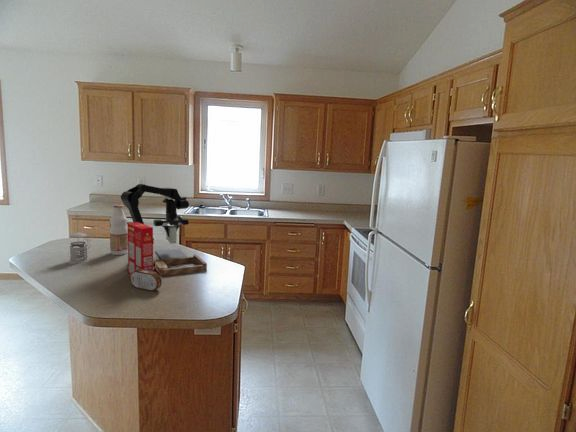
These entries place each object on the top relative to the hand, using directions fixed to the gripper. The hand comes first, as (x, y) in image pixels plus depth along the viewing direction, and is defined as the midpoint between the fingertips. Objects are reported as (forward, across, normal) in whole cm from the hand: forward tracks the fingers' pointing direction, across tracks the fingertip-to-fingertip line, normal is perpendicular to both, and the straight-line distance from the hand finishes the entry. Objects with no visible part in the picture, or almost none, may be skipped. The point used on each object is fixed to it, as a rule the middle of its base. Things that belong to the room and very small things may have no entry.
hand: (171, 236), depth 217 cm
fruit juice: (+11, -26, +14) cm, 32 cm away
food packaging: (+11, -22, -31) cm, 40 cm away
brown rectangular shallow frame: (+11, -2, -26) cm, 28 cm away
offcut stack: (+11, -11, -26) cm, 30 cm away
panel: (+2, 0, 0) cm, 2 cm away
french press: (+11, -46, +6) cm, 48 cm away
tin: (+11, -23, -49) cm, 55 cm away
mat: (+11, 0, 0) cm, 11 cm away
